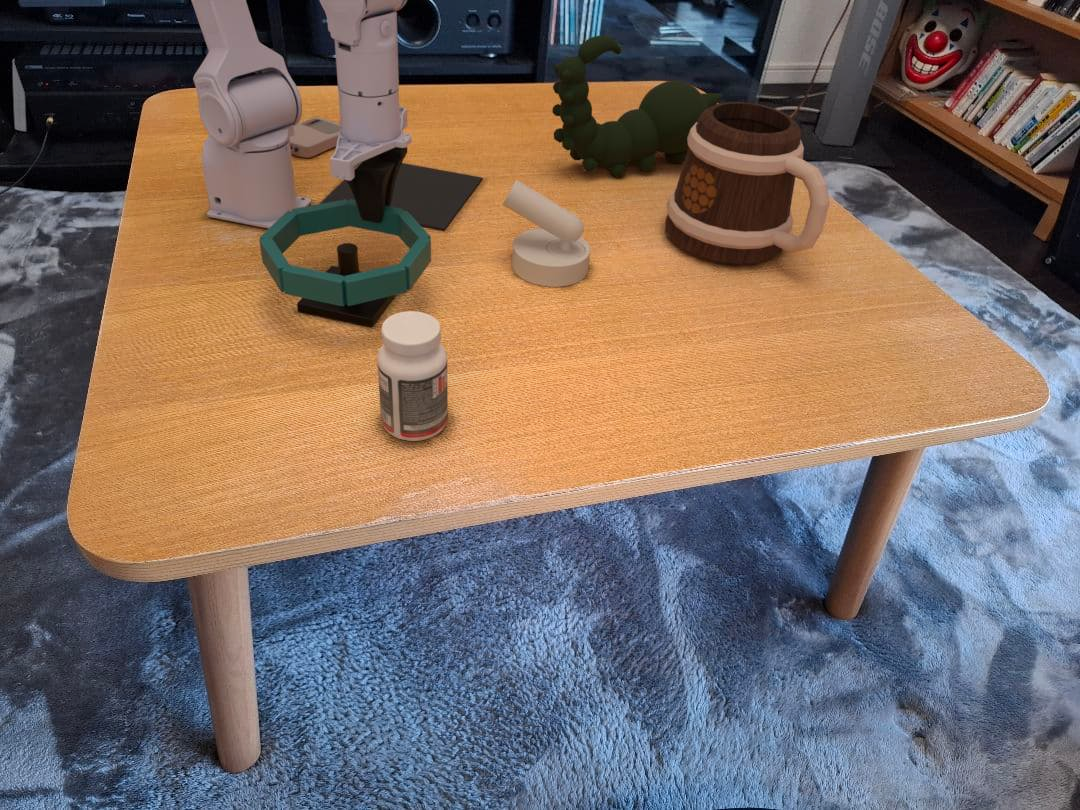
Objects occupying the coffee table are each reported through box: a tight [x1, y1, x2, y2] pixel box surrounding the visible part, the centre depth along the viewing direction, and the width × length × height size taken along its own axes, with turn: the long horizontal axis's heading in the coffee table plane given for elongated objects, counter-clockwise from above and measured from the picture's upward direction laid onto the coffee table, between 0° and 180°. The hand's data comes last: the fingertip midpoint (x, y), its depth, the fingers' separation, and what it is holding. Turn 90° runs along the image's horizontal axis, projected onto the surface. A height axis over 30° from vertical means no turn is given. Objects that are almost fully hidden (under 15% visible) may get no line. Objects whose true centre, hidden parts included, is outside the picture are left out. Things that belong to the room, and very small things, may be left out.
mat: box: [319, 162, 483, 231], centre depth 108 cm, size 16×15×1 cm
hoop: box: [258, 199, 432, 306], centre depth 85 cm, size 15×15×3 cm
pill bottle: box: [376, 310, 449, 442], centre depth 72 cm, size 6×6×10 cm
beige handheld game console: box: [289, 116, 341, 159], centre depth 117 cm, size 7×16×3 cm, turn 148°
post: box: [296, 242, 397, 328], centre depth 87 cm, size 8×8×6 cm
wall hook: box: [502, 179, 591, 288], centre depth 94 cm, size 9×10×10 cm
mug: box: [664, 101, 830, 267], centre depth 99 cm, size 20×15×15 cm
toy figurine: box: [552, 34, 724, 178], centre depth 114 cm, size 9×19×25 cm
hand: (375, 216), depth 90 cm, fingers closed on hoop
